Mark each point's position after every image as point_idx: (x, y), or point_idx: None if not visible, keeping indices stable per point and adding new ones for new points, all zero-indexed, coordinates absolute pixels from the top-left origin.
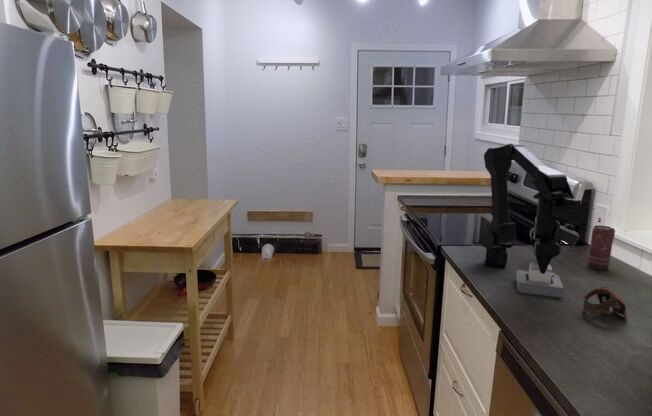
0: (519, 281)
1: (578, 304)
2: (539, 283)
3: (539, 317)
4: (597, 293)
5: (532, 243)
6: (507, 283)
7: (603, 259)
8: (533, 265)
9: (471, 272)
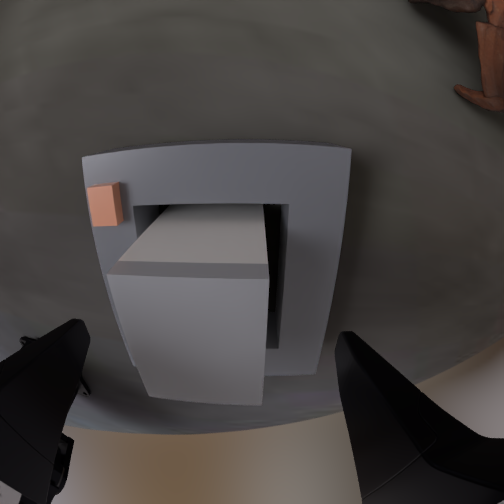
0: (303, 373)
1: (390, 81)
2: (307, 294)
3: (497, 274)
4: (471, 12)
5: (47, 480)
6: None
7: None
8: (208, 392)
9: (170, 426)
